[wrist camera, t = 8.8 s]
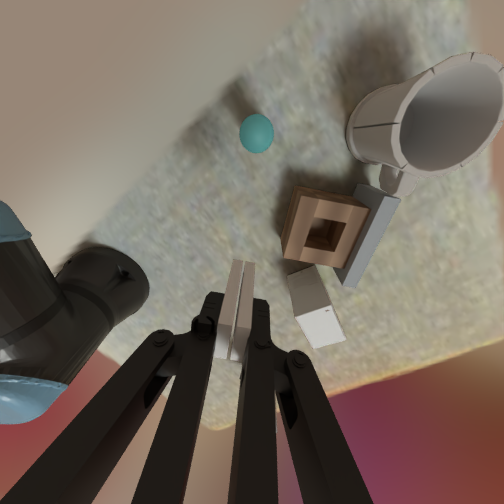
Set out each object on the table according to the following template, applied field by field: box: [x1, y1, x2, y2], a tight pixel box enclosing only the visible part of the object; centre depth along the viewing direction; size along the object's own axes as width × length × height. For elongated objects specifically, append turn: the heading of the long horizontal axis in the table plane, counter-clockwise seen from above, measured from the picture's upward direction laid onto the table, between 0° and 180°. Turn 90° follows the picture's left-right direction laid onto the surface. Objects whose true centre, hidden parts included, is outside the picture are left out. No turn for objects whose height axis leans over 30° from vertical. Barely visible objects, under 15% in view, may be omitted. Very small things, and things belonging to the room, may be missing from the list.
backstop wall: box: [333, 183, 401, 288], centre depth 31 cm, size 2×13×8 cm, turn 170°
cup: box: [346, 52, 504, 197], centre depth 23 cm, size 10×9×12 cm
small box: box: [287, 265, 347, 349], centre depth 36 cm, size 8×6×10 cm
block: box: [281, 185, 372, 269], centre depth 32 cm, size 9×9×6 cm
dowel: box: [240, 114, 274, 153], centre depth 24 cm, size 3×3×12 cm
